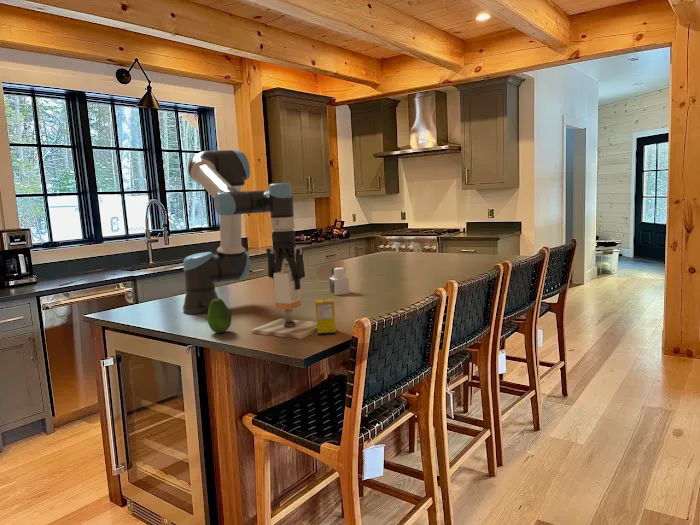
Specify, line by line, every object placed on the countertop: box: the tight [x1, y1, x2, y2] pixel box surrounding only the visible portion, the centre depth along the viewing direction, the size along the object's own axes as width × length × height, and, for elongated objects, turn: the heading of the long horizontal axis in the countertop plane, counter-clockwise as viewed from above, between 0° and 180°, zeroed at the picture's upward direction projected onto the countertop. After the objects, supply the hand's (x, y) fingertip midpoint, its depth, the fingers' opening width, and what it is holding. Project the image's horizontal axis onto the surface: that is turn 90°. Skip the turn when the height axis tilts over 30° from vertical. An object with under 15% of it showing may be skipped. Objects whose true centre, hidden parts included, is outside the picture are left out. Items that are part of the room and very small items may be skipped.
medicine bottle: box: [329, 266, 350, 296], centre depth 237 cm, size 7×7×12 cm
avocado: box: [206, 297, 232, 334], centre depth 178 cm, size 8×8×12 cm
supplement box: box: [315, 297, 337, 336], centre depth 172 cm, size 6×6×11 cm
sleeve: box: [273, 270, 302, 304], centre depth 176 cm, size 6×6×10 cm
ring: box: [275, 300, 302, 310], centre depth 177 cm, size 6×6×2 cm
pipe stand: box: [251, 309, 317, 340], centre depth 178 cm, size 20×16×12 cm
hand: (287, 298), depth 177 cm, fingers closed on sleeve, 6 cm apart
